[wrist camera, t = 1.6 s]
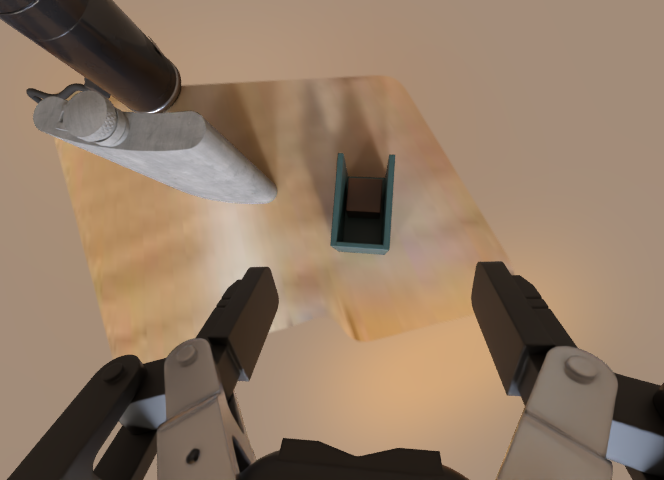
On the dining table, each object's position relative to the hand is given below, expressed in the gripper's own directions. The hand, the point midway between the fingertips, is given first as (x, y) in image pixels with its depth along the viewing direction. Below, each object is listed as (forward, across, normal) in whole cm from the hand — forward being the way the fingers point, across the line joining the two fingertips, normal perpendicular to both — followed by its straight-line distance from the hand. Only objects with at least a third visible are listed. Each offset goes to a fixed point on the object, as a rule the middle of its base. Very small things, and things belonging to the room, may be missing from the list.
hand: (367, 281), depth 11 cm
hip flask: (+27, +21, +5) cm, 35 cm away
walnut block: (+25, +1, +8) cm, 27 cm away
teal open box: (+25, +2, +10) cm, 27 cm away
